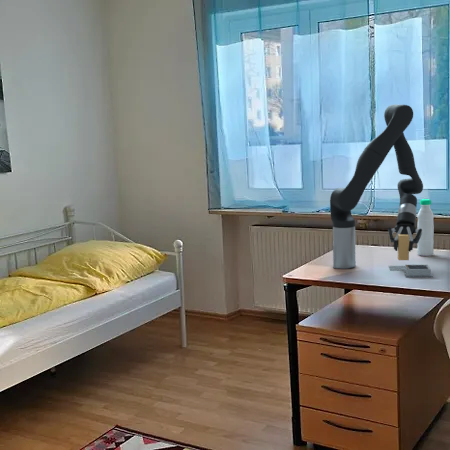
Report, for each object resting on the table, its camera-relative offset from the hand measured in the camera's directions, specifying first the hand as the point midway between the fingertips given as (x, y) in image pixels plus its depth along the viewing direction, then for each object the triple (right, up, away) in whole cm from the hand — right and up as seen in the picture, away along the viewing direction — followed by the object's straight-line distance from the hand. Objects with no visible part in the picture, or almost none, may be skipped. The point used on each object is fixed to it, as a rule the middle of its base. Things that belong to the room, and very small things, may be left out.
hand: (402, 250), depth 261 cm
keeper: (+3, -10, -8) cm, 13 cm away
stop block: (+1, -4, +2) cm, 5 cm away
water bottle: (+18, -3, +29) cm, 34 cm away
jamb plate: (+1, -8, +3) cm, 9 cm away
